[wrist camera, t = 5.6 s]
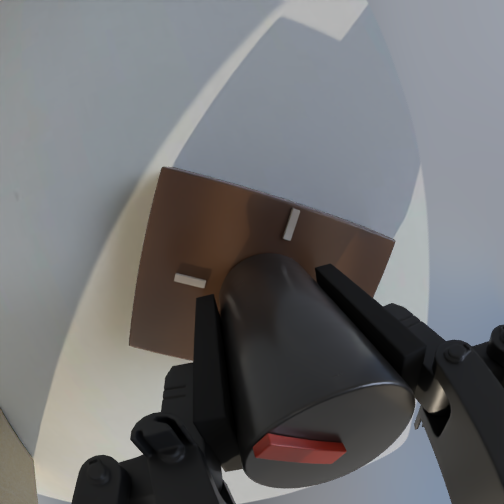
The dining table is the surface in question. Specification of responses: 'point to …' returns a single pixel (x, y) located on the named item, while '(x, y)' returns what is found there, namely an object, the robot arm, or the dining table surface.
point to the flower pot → (15, 468)
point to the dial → (303, 378)
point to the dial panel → (231, 251)
